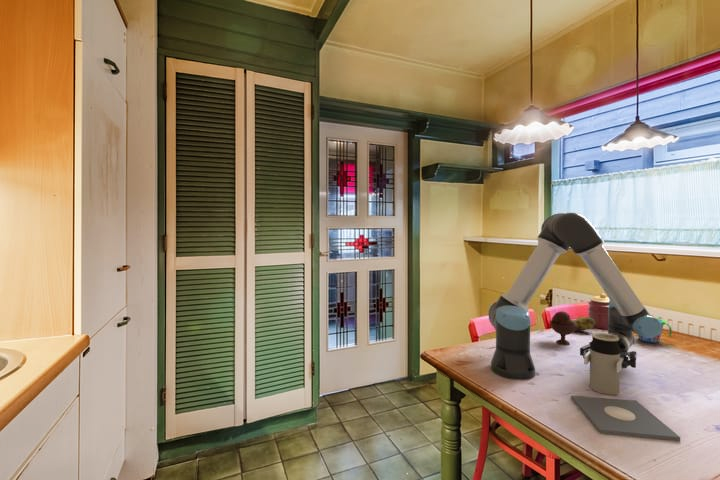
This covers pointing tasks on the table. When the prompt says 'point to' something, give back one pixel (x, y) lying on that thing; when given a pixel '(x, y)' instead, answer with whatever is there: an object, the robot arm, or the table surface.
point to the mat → (623, 418)
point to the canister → (599, 311)
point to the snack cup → (657, 338)
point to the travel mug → (604, 363)
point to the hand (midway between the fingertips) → (601, 364)
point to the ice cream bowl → (563, 326)
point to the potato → (584, 323)
